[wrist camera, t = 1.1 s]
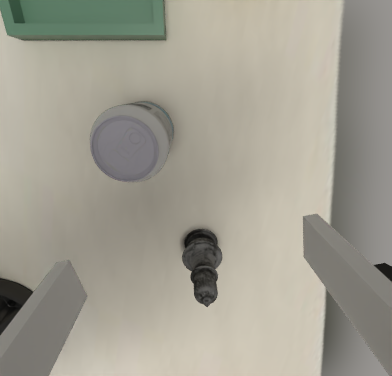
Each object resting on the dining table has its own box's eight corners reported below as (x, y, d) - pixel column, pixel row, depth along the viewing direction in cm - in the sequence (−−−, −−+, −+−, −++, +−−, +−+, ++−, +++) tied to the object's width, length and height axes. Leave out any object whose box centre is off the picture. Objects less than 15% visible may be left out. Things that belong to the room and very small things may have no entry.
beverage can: (109, 131, 30) (65, 153, 19) (142, 88, 28) (114, 85, 17) (151, 165, 32) (133, 203, 21) (184, 127, 30) (183, 147, 19)
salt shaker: (196, 221, 36) (200, 278, 25) (226, 238, 37) (243, 300, 26) (175, 247, 37) (171, 312, 26) (205, 263, 39) (212, 331, 28)
